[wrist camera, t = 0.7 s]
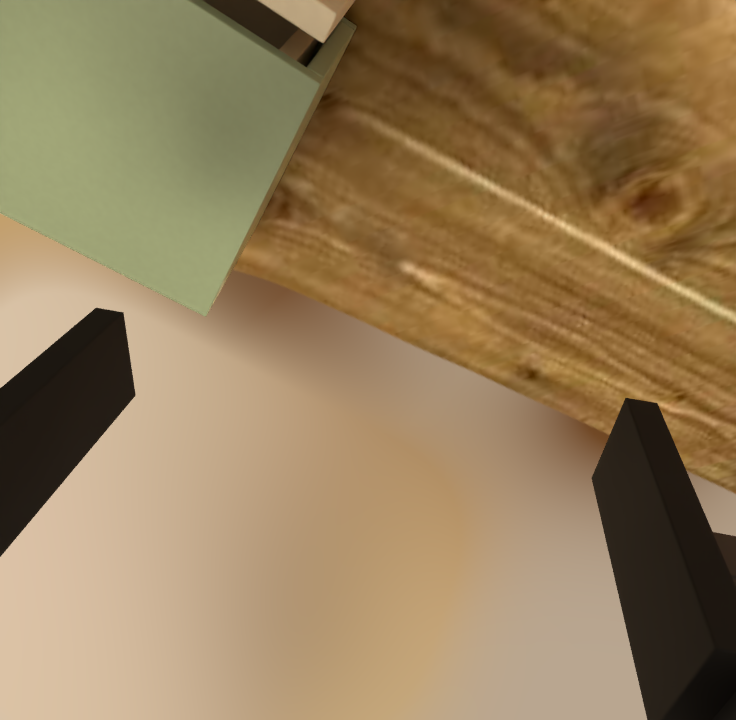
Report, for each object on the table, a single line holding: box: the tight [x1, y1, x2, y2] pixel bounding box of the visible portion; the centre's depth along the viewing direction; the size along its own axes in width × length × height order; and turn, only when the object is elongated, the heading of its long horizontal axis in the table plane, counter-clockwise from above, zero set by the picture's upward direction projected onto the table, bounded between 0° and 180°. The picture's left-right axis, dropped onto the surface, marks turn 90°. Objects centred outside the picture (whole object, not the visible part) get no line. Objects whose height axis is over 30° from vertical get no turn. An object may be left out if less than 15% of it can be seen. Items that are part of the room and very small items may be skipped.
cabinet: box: [0, 0, 357, 316], centre depth 29 cm, size 14×13×10 cm
